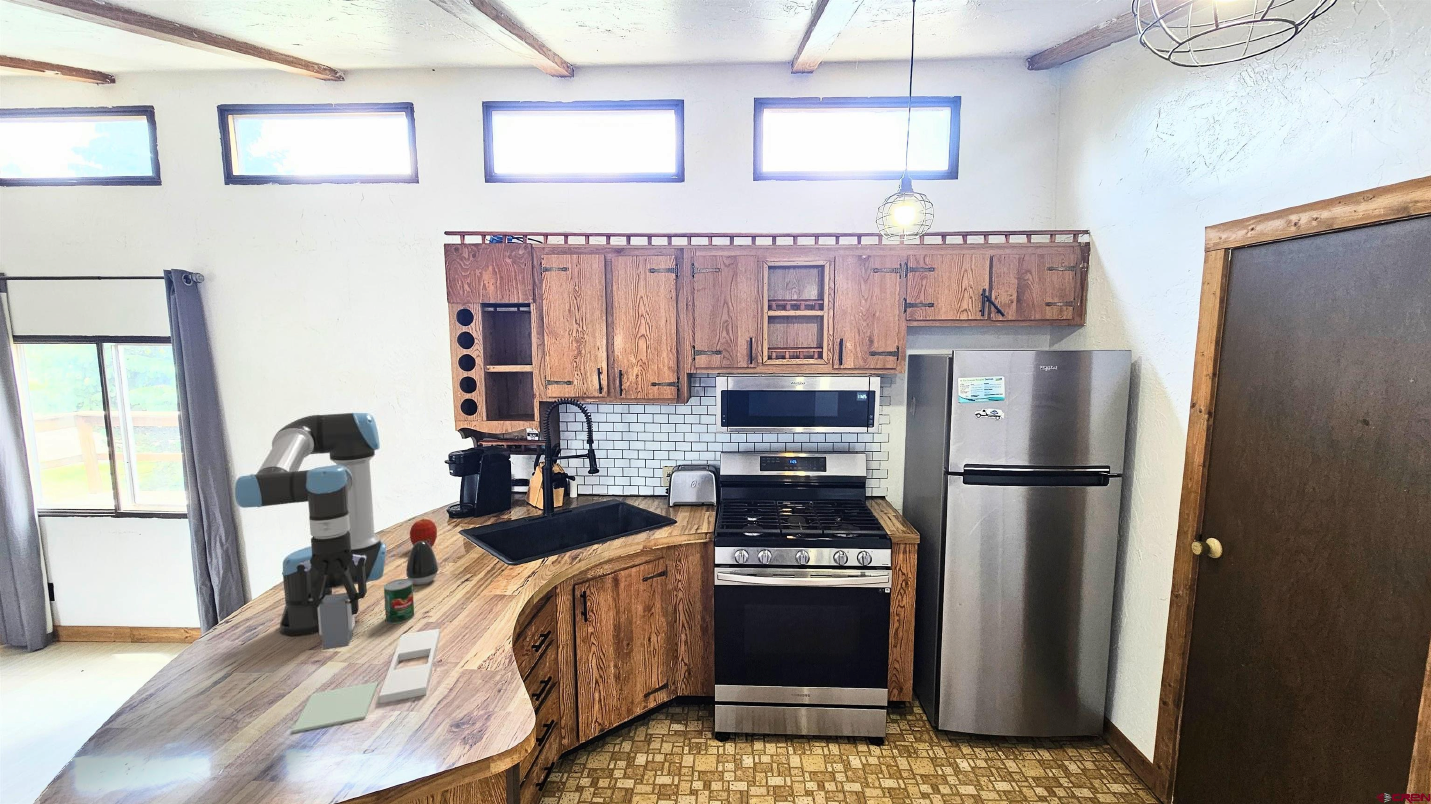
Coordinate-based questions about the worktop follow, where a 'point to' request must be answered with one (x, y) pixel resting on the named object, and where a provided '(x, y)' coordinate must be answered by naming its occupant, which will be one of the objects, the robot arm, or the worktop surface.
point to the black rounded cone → (421, 563)
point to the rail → (414, 677)
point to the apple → (423, 531)
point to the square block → (335, 621)
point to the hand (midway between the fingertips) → (337, 629)
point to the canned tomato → (399, 601)
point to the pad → (336, 707)
